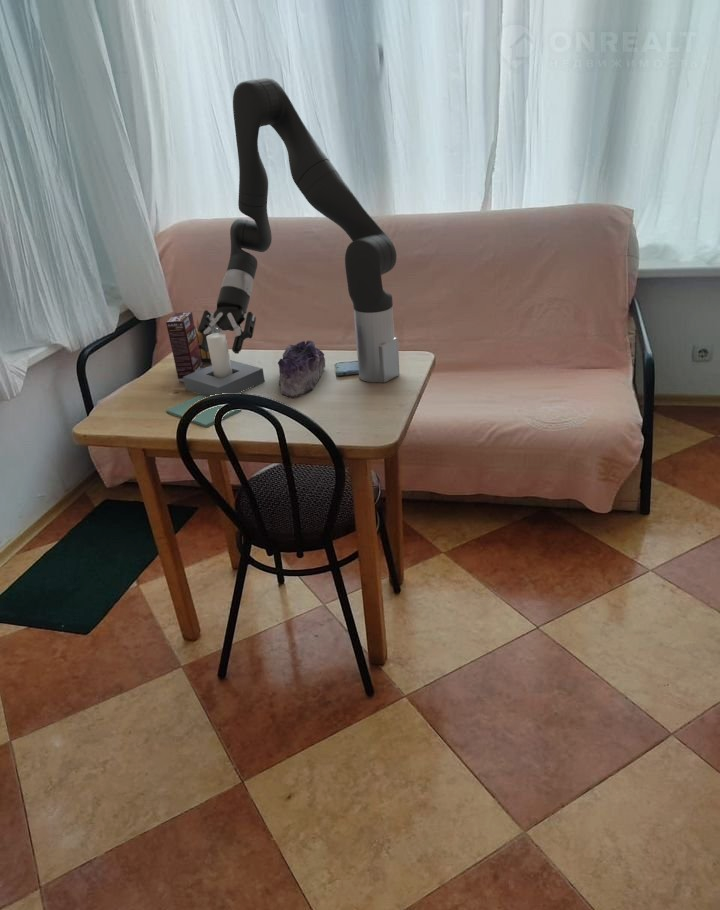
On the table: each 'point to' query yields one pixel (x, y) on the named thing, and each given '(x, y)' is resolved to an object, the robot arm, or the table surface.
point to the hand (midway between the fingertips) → (220, 351)
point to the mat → (201, 419)
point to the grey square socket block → (224, 380)
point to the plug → (219, 355)
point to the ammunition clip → (204, 355)
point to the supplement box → (184, 344)
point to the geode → (300, 369)
